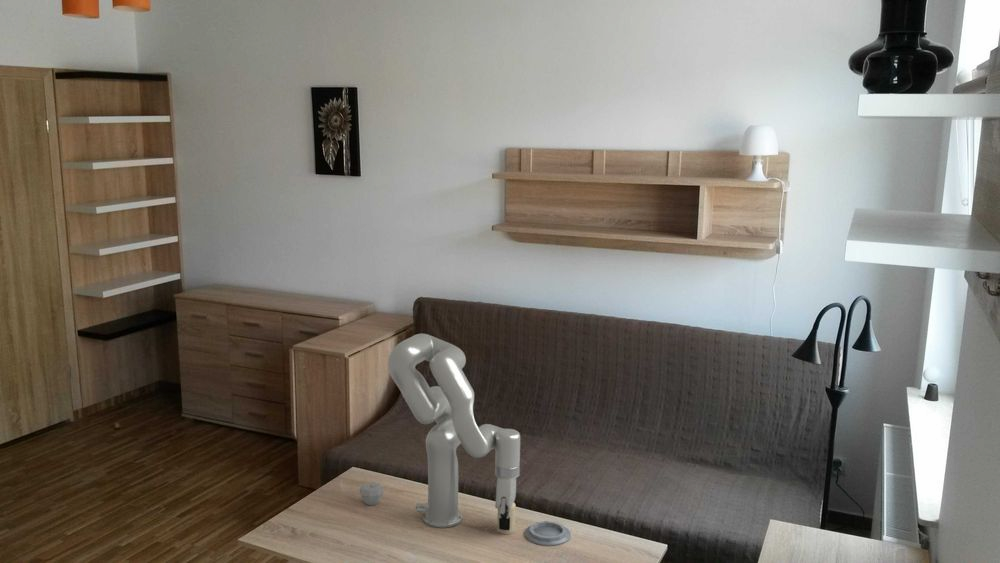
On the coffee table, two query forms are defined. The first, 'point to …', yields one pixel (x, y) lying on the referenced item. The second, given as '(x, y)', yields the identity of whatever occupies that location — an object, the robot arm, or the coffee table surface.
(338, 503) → the coffee table surface
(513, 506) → the candle
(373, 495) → the apple
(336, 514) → the coffee table surface
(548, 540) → the candle dish
